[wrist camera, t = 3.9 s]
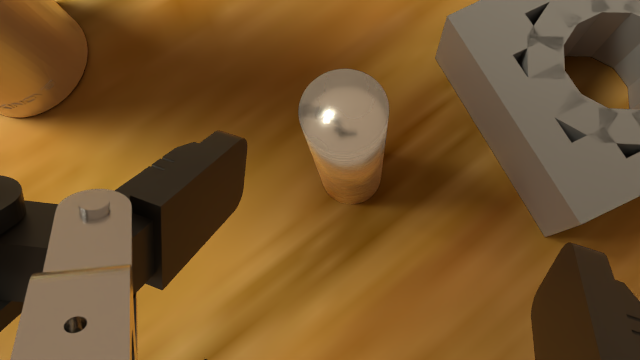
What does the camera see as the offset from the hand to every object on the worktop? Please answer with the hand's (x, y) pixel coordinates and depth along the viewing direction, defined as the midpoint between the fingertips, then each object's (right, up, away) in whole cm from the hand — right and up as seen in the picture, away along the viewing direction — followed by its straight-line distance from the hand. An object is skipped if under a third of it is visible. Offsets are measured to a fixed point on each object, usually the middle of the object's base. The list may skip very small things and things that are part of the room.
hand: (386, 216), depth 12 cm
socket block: (+16, +6, +19) cm, 26 cm away
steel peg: (0, +1, +19) cm, 20 cm away
